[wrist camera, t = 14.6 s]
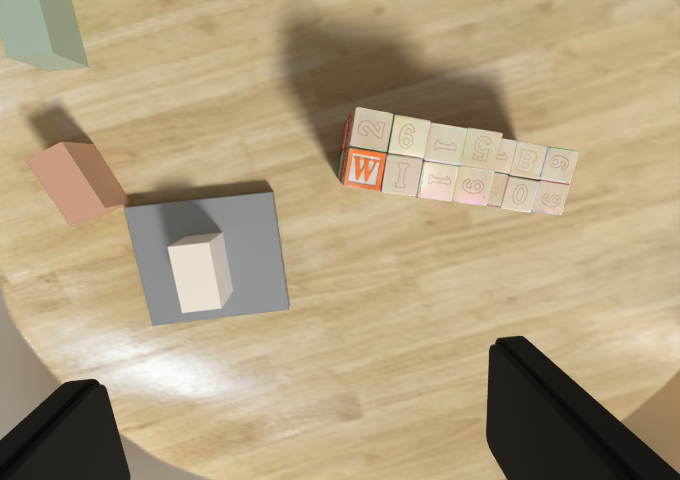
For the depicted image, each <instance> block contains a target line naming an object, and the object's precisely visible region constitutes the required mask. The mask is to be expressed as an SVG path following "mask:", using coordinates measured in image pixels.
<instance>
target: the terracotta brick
mask: <svg viewBox="0 0 680 480" xmlns="http://www.w3.org/2000/svg"><path fill="white" fill-rule="evenodd" d="M25 161H26V163H27V164H28V166H29V167H30V169H31V170H32V172H33V173H34V174H35V176H36V177H37V179H38V180H39V182H40V183H41V185H42V186H43V188H44V189H45V190H46V192H47V193H48V195H49V196H50V198H51V199H52V201H53V202H54V203H55V205H56V206H57V208H58V209H59V211H60V212H61V214H62V215H63V216H64V218H65V219H66V221H67V222H68V224H69V225H70V226H71V225H75V224H79V223H83V222H87V221H91V220H94V219H98V218H101V217H103V216H105V215H107V214H109V213H111V212H113V211H115V210H117V209H119V208H121V207H123V206H125V205H127V204H129V203H131V201H130V200H129V198H128V197H127V195H126V193H125V192H124V190H123V189H122V187H121V186H120V184H119V182H118V181H117V179H116V178H115V176H114V175H113V173H112V171H111V170H110V168H109V167H108V165H107V163H106V162H105V160H104V159H103V157H102V156H101V154H100V152H99V151H98V149H97V148H96V146H95V145H94V144H86V143H73V142H60V143H58V144H56V145H54V146H52V147H50V148H48V149H46V150H44V151H42V152H40V153H38V154H37V155H35V156H33V157H31V158H29V159H27V160H25Z"/></svg>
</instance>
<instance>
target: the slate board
mask: <svg viewBox="0 0 680 480" xmlns="http://www.w3.org/2000/svg"><path fill="white" fill-rule="evenodd" d="M124 210H125V214H126V218H127V222H128V227H129V231H130V235H131V239H132V243H133V247H134V251H135V255H136V260H137V264H138V268H139V272H140V276H141V280H142V284H143V288H144V292H145V297H146V301H147V305H148V309H149V313H150V317H151V321H152V325H153V326H156V325H164V324H173V323H181V322H190V321H198V320H206V319H215V318H223V317H232V316H240V315H248V314H257V313H265V312H273V311H282V310H289V305H290V304H289V297H288V290H287V283H286V276H285V269H284V262H283V255H282V248H281V241H280V234H279V227H278V220H277V213H276V206H275V199H274V191H271V192H261V193H252V194H242V195H233V196H223V197H214V198H204V199H195V200H185V201H176V202H166V203H157V204H147V205H138V206H130V207H126V208H124ZM220 232H223V238H224V243H225V249H226V254H227V260H228V265H229V271H230V276H231V282H232V287H233V292H232V293H231V295H230V296H229V298H228V299H227V301H226V302H225V304H224V305H223V307H222V308H221V309H213V310H204V311H196V312H187V313H182V310H181V306H180V301H179V297H178V292H177V288H176V283H175V279H174V274H173V270H172V265H171V261H170V256H169V251H168V246H170V245H172V244H174V243H175V242H177V241H179V240H181V239H182V238H184V237H186V236H193V235H202V234H211V233H220Z"/></svg>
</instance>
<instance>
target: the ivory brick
mask: <svg viewBox="0 0 680 480" xmlns="http://www.w3.org/2000/svg"><path fill="white" fill-rule="evenodd" d="M168 251H169V256H170V261H171V265H172V270H173V274H174V279H175V283H176V288H177V292H178V297H179V301H180V306H181V310H182V313H187V312H196V311H204V310H213V309H221V308H222V307H223V305H224V304H225V302H226V301H227V299H228V298H229V296H230V295H231V293H232V292H233V287H232V282H231V276H230V271H229V265H228V260H227V254H226V249H225V243H224V238H223V232H220V233H211V234H202V235H193V236H186V237H184V238H182V239H181V240H179V241H177V242H175V243H174V244H172V245H170V246H168Z"/></svg>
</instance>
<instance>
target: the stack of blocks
mask: <svg viewBox="0 0 680 480" xmlns="http://www.w3.org/2000/svg"><path fill="white" fill-rule="evenodd" d="M502 136H503V133H500V132H494V131H488V130H481V129H475V128H463V127H457V126H451V125H445V124H439V123H432V122H431V121H430V120H425V119H419V118H413V117H408V116H402V115H394V114H392V113H389V112H383V111H378V110H373V109H367V108H362V107H356V108H355V110H354V111H353V112H351V113H350V115H349V117H348V120H347V121H346V122H345V127H344V133H343V139H342V146H341V155H340V161H339V167H338V173H337V178H338V180H339V181H340V182H341V183H342V184H343V185H344V186H348V187H354V188H362V189H368V190H375V191H381V192H385V193H393V194H401V195H410V196H415V197H418V198H424V199H432V200H439V201H447V202H458V203H466V204H473V205H481V206H487V205H491V206H495V207H498V208H502V209H508V210H514V211H521V212H528V213H530V212H537V213H544V214H550V215H557V216H561V214H562V210H563V207H564V204H565V200H566V197H567V194H568V190H569V187H570V185H569V183H570V181H571V178H572V175H573V171H574V168H575V164H576V161H577V158H578V154H579V152H578V151H573V150H567V149H561V148H555V147H548V146H546V145H540V144H534V143H528V142H522V141H516V140H511V139H505V138H502Z"/></svg>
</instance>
